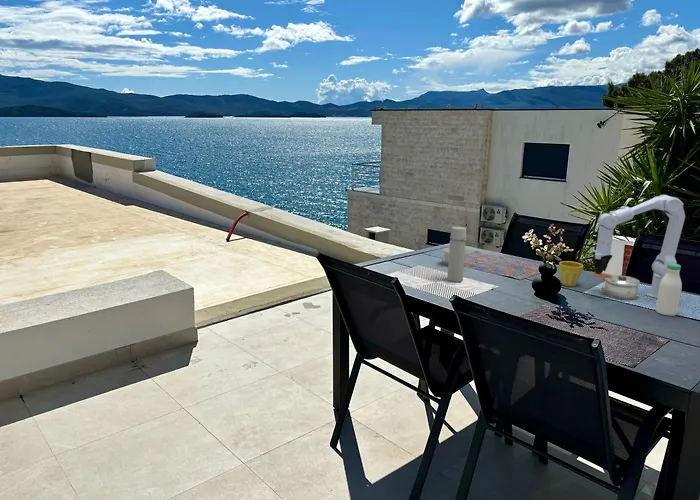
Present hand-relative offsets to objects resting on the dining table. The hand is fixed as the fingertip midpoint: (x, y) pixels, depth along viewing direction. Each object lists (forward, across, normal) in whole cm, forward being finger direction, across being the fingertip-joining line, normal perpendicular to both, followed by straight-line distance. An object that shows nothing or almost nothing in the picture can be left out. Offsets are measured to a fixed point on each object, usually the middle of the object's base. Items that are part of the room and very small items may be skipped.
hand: (600, 272), depth 238 cm
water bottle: (+10, +25, -56) cm, 62 cm away
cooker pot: (+10, -7, +6) cm, 13 cm away
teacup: (+10, +3, -70) cm, 71 cm away
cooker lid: (+4, -6, +5) cm, 9 cm away
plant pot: (+10, -6, -14) cm, 19 cm away
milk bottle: (+10, +6, +28) cm, 30 cm away
